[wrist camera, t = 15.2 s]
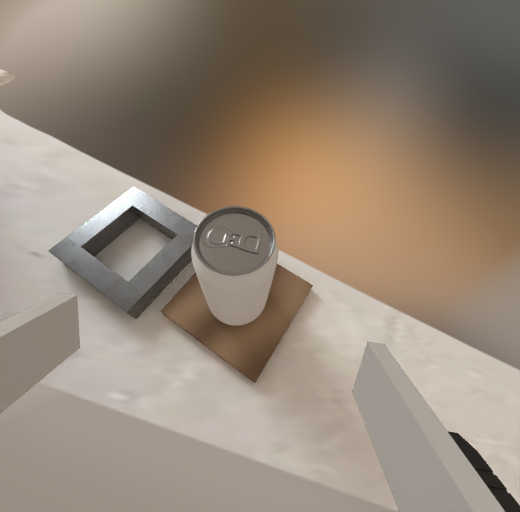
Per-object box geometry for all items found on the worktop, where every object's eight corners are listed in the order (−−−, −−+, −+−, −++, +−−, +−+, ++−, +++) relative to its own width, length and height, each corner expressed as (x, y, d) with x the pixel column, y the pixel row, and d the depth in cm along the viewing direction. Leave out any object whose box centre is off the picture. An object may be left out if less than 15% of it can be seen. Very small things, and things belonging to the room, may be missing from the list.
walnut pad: (163, 314, 27) (160, 311, 26) (229, 239, 32) (229, 234, 31) (254, 382, 24) (255, 382, 23) (310, 288, 29) (312, 285, 29)
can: (216, 266, 29) (203, 194, 19) (270, 277, 29) (287, 210, 18) (199, 319, 26) (171, 269, 15) (260, 332, 26) (273, 290, 15)
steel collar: (62, 261, 29) (48, 250, 27) (140, 199, 34) (133, 186, 32) (136, 318, 26) (126, 312, 24) (207, 242, 32) (205, 230, 30)
